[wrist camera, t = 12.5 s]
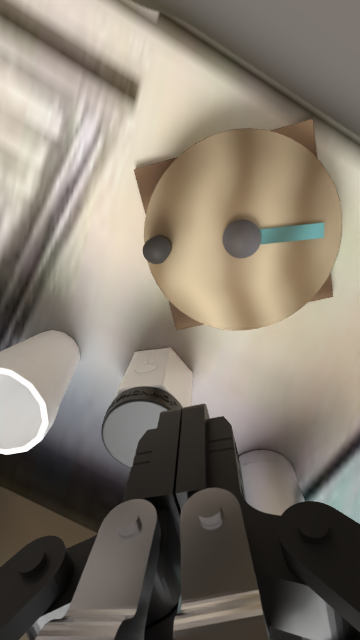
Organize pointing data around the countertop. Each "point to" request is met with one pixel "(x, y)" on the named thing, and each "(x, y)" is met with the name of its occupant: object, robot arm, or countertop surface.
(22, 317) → the countertop surface
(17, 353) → the foam cup
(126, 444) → the jar
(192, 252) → the handwheel
